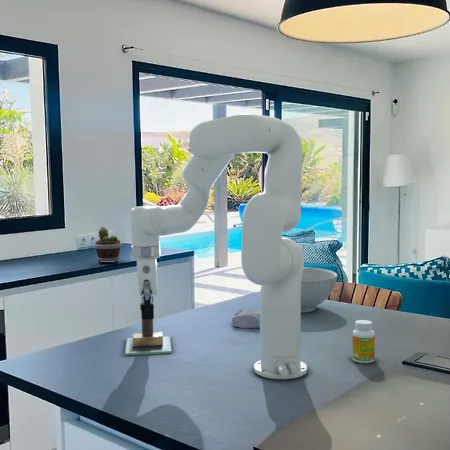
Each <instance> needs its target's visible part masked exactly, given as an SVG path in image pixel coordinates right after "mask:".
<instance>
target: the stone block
mask: <svg viewBox="0 0 450 450" xmlns="http://www.w3.org/2000/svg"><path fill="white" fill-rule="evenodd" d="M231 322H232V325H233V326H234V327H235V328H239V329H260V308H253V307H252V308H245V309H241V310H237V311H236V312H235V313H234V314H233V316H232V317H231Z"/></svg>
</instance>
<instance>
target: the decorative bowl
mask: <svg viewBox="0 0 450 450" xmlns="http://www.w3.org/2000/svg"><path fill="white" fill-rule="evenodd" d="M337 279H338V273H336V271H335V272H334V271H332V270H329V269H324V268H317V267H304V268H303V275H302V282H301V313H303V314H304V313H311V312H314V311H315V310H316V309H317V306H319V305H321V304H322V303H324V301H325V300H327V299H328V298H329V296H331V293H332V292H333V290H334V288H335V285H336V283H337Z"/></svg>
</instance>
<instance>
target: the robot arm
mask: <svg viewBox="0 0 450 450" xmlns="http://www.w3.org/2000/svg"><path fill="white" fill-rule="evenodd" d="M187 145H188V150H189V152H190V153H191V156H190V157H189V159H188V160H187V162H186V163H185V164H184V166H183V168H182V171H181V172H182V173H181V175H182V177H183V178H184V180H185V182H186V183H188V187H187V191H186V193H185V194H184V196H183V197H182V198H181V200H180V201H179V203H177V204H171V205H163V206H153V205H140V206H134V207H132V208H131V210H130V231H131V232H130V237H131V259H134V260H136V276H137V278H136V279H137V287H138V288H137V289H138V295H139V296H141V302H142V304H141V303H140V304H141V310H140V312H141V313H140V314H141V321H142V320H146V319H153V320H154V318H155V311H154V309H155V304H154V296H158V294H159V293H158V290H159V289H158V287H159V285H158V262H157V259H159V258H161V237H160V236H171V235H176V234H180V233H185V232H188V231H189V230H191V229H192V228H193V227H194V226H195V225H196V224H197V223H198V222H199V220H200V219H201V217H202V216H203V214H204V213H205V212H206V209H207V207H208V204H209V203H210V197H211V190H212V187H213V186H214V184H215V183H216V181H218V178H220V176H221V174H222V173H223V171H224V170H225V169H226V168H227V166H228V165H229V163H230V162H231V160H232V159H233V158H234V156H235V155H236V154H243V153H256V154H257V153H258V154H259V153H261V154H262V153H263V154H266V155H267V156H268V158H267V161H266V164H265V169H264V174H263V175H264V176H263V177H264V183H263V185H264V186H263V192H260V193H256V194H255V195H253V196H252V197H251V198H250V199H249V200H248V201H247V203H246V205H245V207H244V209H243V213H242V223H241V254H240V256H241V257H240V258H241V267H242V271H243V274H244V275H245V277H246V278H247V279H248V280H249V281H250V282H251V283H252V284H255V285H259V286H260V292H259V309H260V328H259V350H260V351H259V356H260V357H259V360H257V361H256V362H255V363H254V364H253V371H254V373H255V374H256V375H257V376H260V377H262V378H266V379H271V380H292V379H297V378H301V377H304V376H305V375H306V374H307V373H308V365H307V364H306V363H305V362H303V361H301V359H302V356H301V355H302V353H301V351H302V350H301V349H302V339H301V338H302V336H301V335H302V334H301V333H302V331H301V330H302V329H301V326H302V325H301V324H302V323H301V320H302V319H301V282H302V275H303V268H305V267H304V266H305V257H304V253H303V250H302V248H301V246H300V245H299V243H297V242H296V241H295V240H293V239H291V238H288V237H283V233H287V232H290V231H292V230H293V229H295V228H296V227H297V226H298V225H299V222H300V220H301V214H302V213H301V211H302V210H301V209H302V185H303V184H302V183H303V181H302V171H303V158H304V156H303V153H304V151H303V143H302V140H301V136H300V135H299V133H298V132H297V130H296V129H295V127H293V126H292V125H291V124H289V123H288V122H286V121H284V120H282V119H280V118H277V117H274V116H269V115H262V114H256V113H247V112H246V113H239V114H234V115H230V116H225V117H221V118H216V119H210V120H205V121H202V122H200V123H198V124H197V125H195V126H194V127H193V128H192V129H191V131H190V132H189V135H188V138H187ZM150 301H151V302H150ZM152 302H153V303H152ZM150 303H151V304H150ZM153 304H154V305H153Z"/></svg>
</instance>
